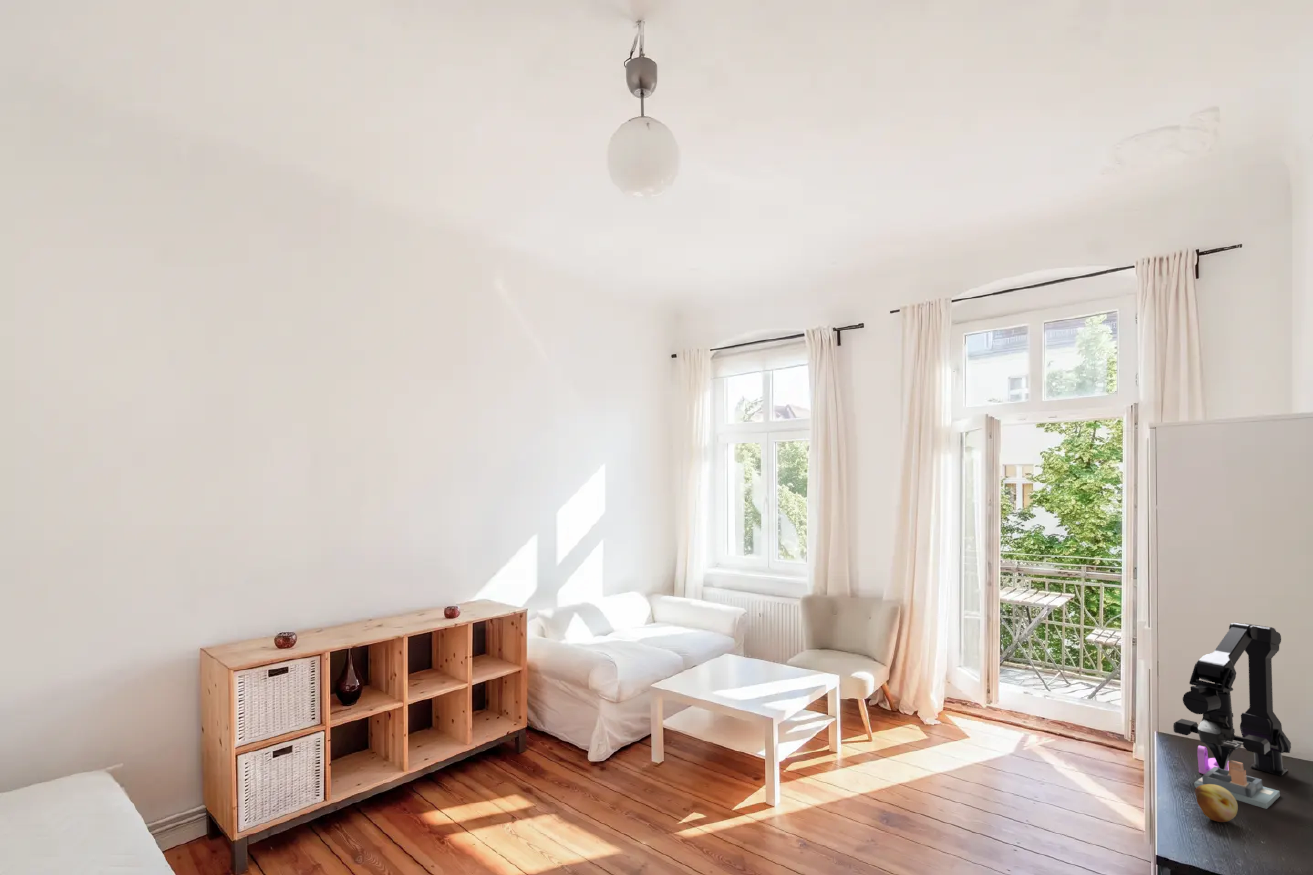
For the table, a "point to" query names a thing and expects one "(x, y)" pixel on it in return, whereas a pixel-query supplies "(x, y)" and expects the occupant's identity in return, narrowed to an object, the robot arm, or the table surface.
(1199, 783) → the switch plate
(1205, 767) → the bracket
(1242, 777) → the tab
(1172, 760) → the table surface
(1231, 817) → the fruit
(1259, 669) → the robot arm
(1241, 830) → the table surface
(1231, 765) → the tab
